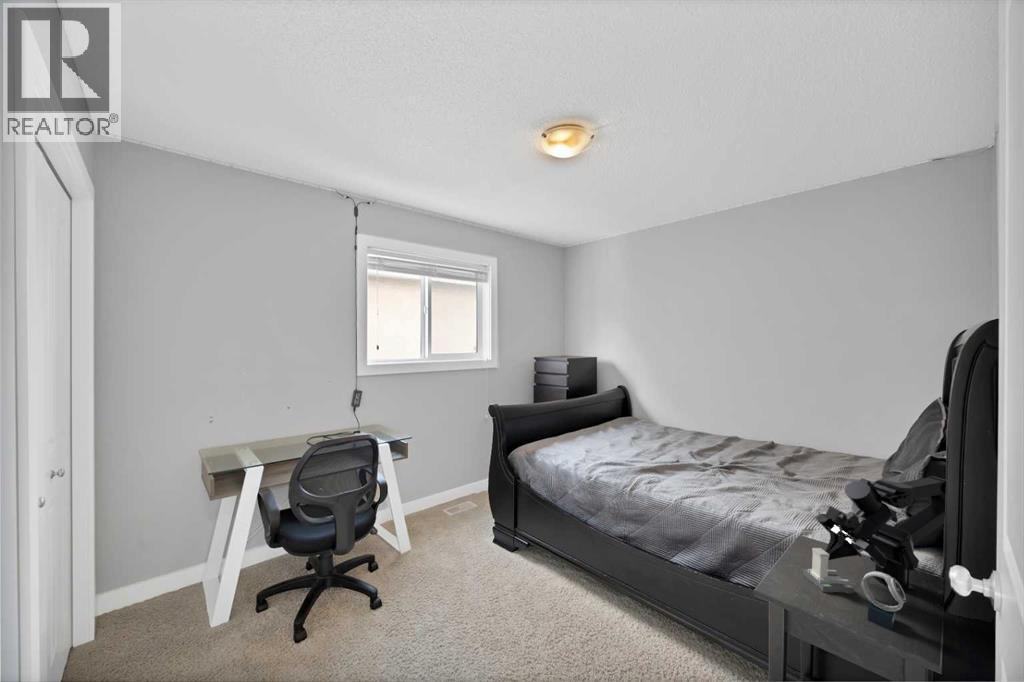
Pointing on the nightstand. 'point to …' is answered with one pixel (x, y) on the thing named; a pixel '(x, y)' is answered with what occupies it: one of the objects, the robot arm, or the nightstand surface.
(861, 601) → the nightstand surface
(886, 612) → the watch
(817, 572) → the handle
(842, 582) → the breaker panel
